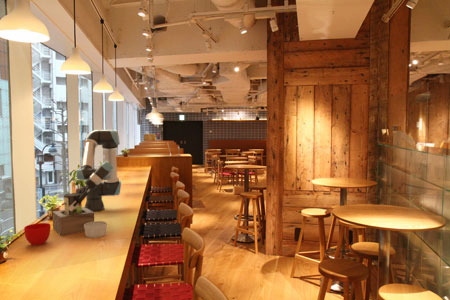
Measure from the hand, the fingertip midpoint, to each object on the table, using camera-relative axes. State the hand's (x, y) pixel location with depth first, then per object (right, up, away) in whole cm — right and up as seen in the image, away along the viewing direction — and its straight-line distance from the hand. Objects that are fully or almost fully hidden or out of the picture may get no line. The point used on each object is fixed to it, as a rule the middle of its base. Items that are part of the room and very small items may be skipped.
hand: (68, 208), depth 223 cm
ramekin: (+22, -15, -10) cm, 28 cm away
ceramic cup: (-5, -15, -24) cm, 29 cm away
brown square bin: (+3, -14, +2) cm, 14 cm away
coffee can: (+3, -5, +2) cm, 6 cm away
